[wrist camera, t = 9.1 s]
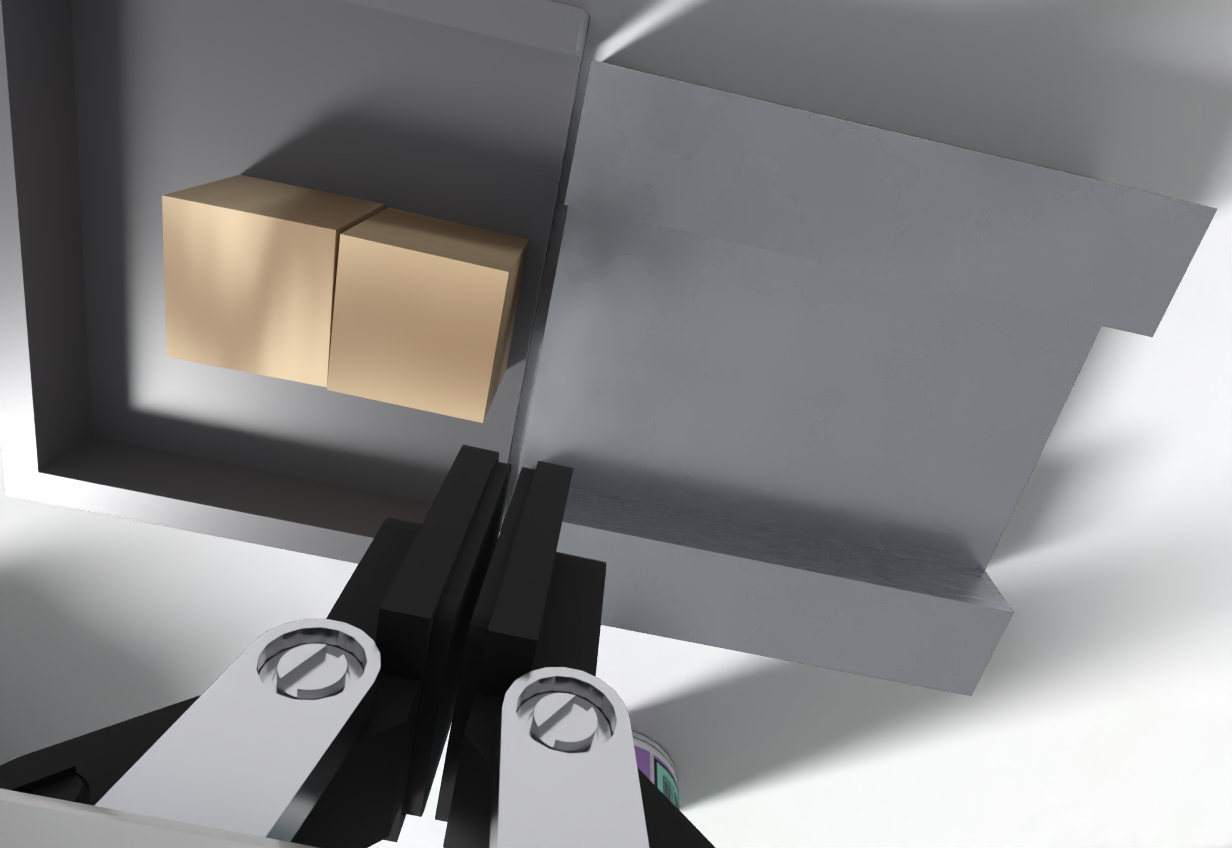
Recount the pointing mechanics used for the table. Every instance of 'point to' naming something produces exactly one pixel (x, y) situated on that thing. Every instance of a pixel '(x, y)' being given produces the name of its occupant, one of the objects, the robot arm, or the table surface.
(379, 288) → the light brown cube
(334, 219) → the tan cardboard cube
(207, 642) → the table surface
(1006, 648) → the table surface
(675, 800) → the spray can
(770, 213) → the slot block
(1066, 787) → the table surface
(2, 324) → the tray
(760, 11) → the table surface
